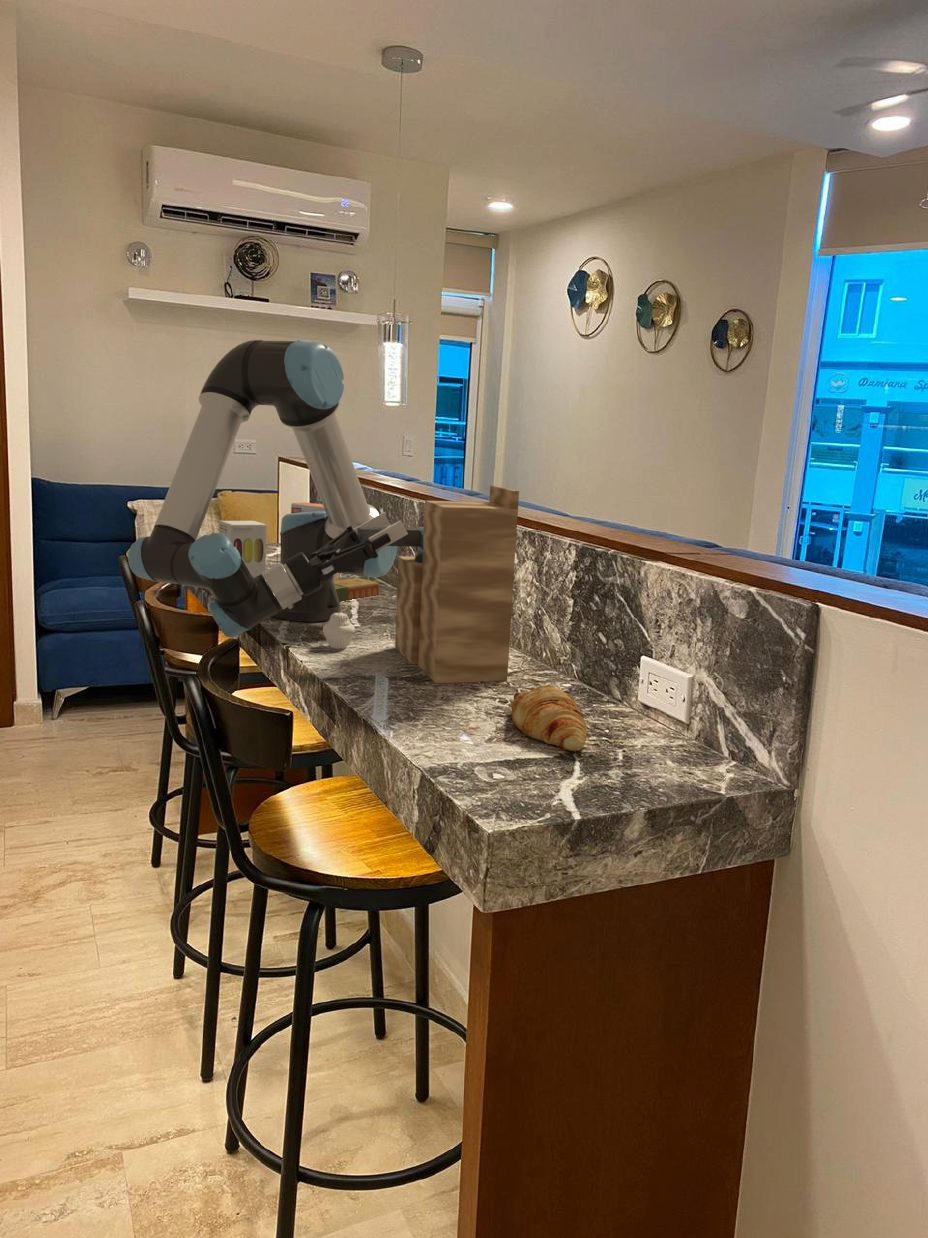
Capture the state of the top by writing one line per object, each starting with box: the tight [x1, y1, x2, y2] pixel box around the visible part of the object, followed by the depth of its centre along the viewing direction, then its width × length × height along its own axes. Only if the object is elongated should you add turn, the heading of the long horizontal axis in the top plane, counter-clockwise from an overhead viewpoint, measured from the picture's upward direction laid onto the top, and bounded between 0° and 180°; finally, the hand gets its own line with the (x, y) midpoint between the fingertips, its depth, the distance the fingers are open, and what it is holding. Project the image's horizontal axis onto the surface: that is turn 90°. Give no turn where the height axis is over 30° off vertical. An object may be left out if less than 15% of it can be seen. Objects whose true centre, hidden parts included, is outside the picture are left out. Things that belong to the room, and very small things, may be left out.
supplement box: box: [218, 520, 267, 579], centre depth 234 cm, size 10×9×17 cm
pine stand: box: [394, 485, 520, 684], centre depth 170 cm, size 26×14×33 cm, turn 17°
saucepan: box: [357, 526, 424, 563], centre depth 174 cm, size 10×21×6 cm, turn 106°
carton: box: [334, 577, 380, 602], centre depth 230 cm, size 8×16×4 cm, turn 139°
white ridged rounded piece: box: [322, 612, 356, 650], centre depth 181 cm, size 6×6×7 cm
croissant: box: [510, 684, 588, 752], centre depth 137 cm, size 21×10×8 cm, turn 22°
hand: (395, 522), depth 172 cm, fingers open, 13 cm apart
